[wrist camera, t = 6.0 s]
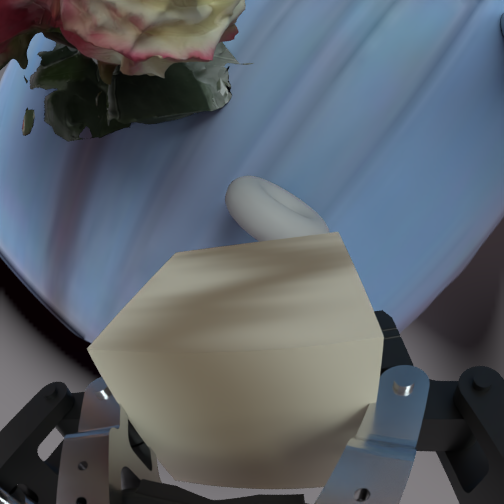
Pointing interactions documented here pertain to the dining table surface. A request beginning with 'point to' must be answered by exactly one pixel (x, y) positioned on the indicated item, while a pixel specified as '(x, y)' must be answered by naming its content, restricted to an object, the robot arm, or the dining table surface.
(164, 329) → the birch cube
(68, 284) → the dining table surface
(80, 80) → the rose bouquet
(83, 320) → the dining table surface
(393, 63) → the dining table surface
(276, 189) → the donut
